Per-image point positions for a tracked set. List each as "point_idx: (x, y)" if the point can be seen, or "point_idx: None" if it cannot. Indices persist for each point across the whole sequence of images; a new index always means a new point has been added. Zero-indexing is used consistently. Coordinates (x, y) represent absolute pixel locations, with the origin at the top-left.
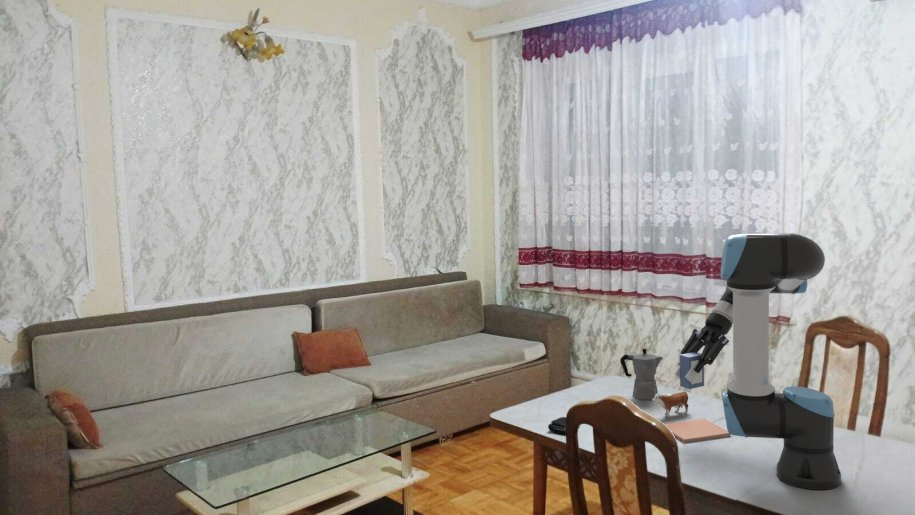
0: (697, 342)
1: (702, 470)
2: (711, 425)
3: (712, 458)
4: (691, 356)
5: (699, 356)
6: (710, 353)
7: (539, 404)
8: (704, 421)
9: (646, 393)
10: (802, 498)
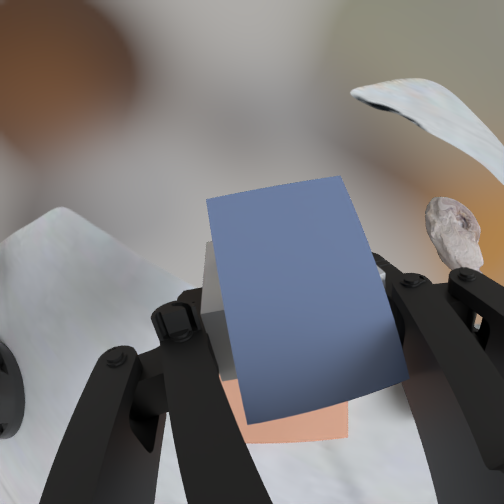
0: (486, 436)
1: (76, 246)
2: (284, 427)
3: (105, 299)
4: (226, 240)
5: (234, 355)
6: (83, 415)
7: (490, 143)
8: (324, 426)
9: None
10: None
